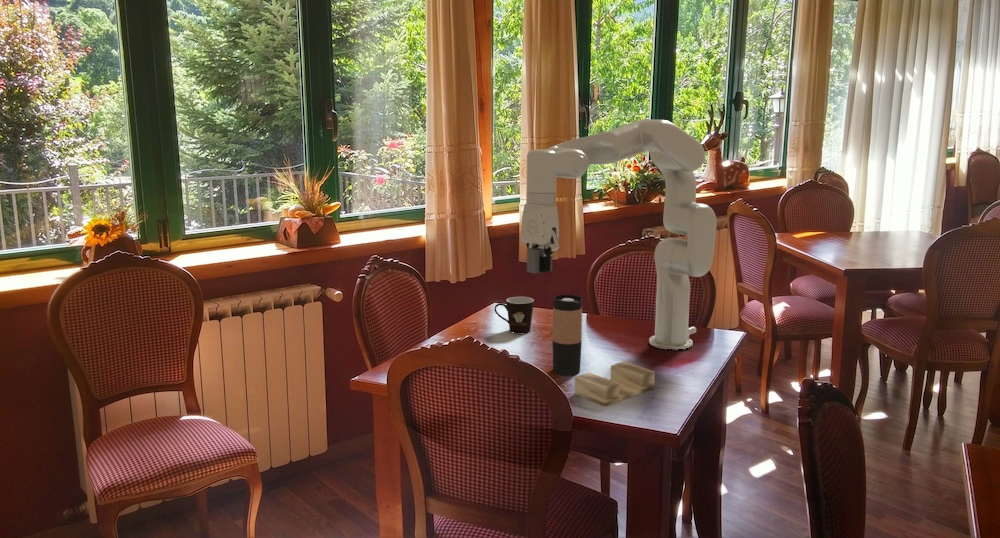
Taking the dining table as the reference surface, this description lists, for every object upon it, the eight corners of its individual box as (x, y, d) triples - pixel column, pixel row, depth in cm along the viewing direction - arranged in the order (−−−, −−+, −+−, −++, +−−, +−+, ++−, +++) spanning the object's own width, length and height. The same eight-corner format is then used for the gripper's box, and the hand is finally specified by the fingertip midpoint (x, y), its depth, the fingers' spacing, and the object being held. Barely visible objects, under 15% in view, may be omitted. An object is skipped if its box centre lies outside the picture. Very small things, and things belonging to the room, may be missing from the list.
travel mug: (551, 366, 205) (552, 294, 201) (579, 366, 205) (581, 294, 200) (552, 375, 197) (553, 301, 193) (581, 376, 197) (583, 301, 193)
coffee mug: (538, 329, 238) (539, 299, 236) (524, 336, 231) (524, 305, 229) (507, 324, 244) (507, 294, 242) (492, 330, 237) (492, 300, 235)
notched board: (623, 377, 196) (624, 361, 195) (654, 388, 188) (654, 371, 188) (574, 393, 185) (574, 376, 184) (604, 406, 177) (605, 388, 176)
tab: (544, 268, 198) (544, 246, 196) (552, 270, 195) (552, 247, 194) (526, 271, 194) (527, 248, 193) (534, 273, 192) (534, 250, 190)
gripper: (509, 197, 195) (508, 266, 199) (551, 203, 182) (550, 277, 186) (531, 195, 199) (530, 263, 203) (574, 201, 187) (572, 273, 191)
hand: (540, 269), depth 195 cm, fingers closed on tab, 3 cm apart
